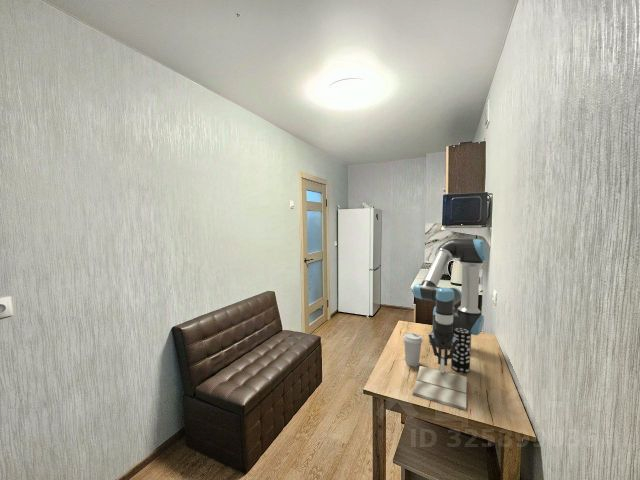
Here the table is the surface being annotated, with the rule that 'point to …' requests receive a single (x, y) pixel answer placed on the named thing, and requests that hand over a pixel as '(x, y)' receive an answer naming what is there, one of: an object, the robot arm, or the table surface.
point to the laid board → (440, 395)
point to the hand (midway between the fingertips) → (442, 371)
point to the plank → (442, 379)
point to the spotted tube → (461, 350)
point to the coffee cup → (412, 348)
